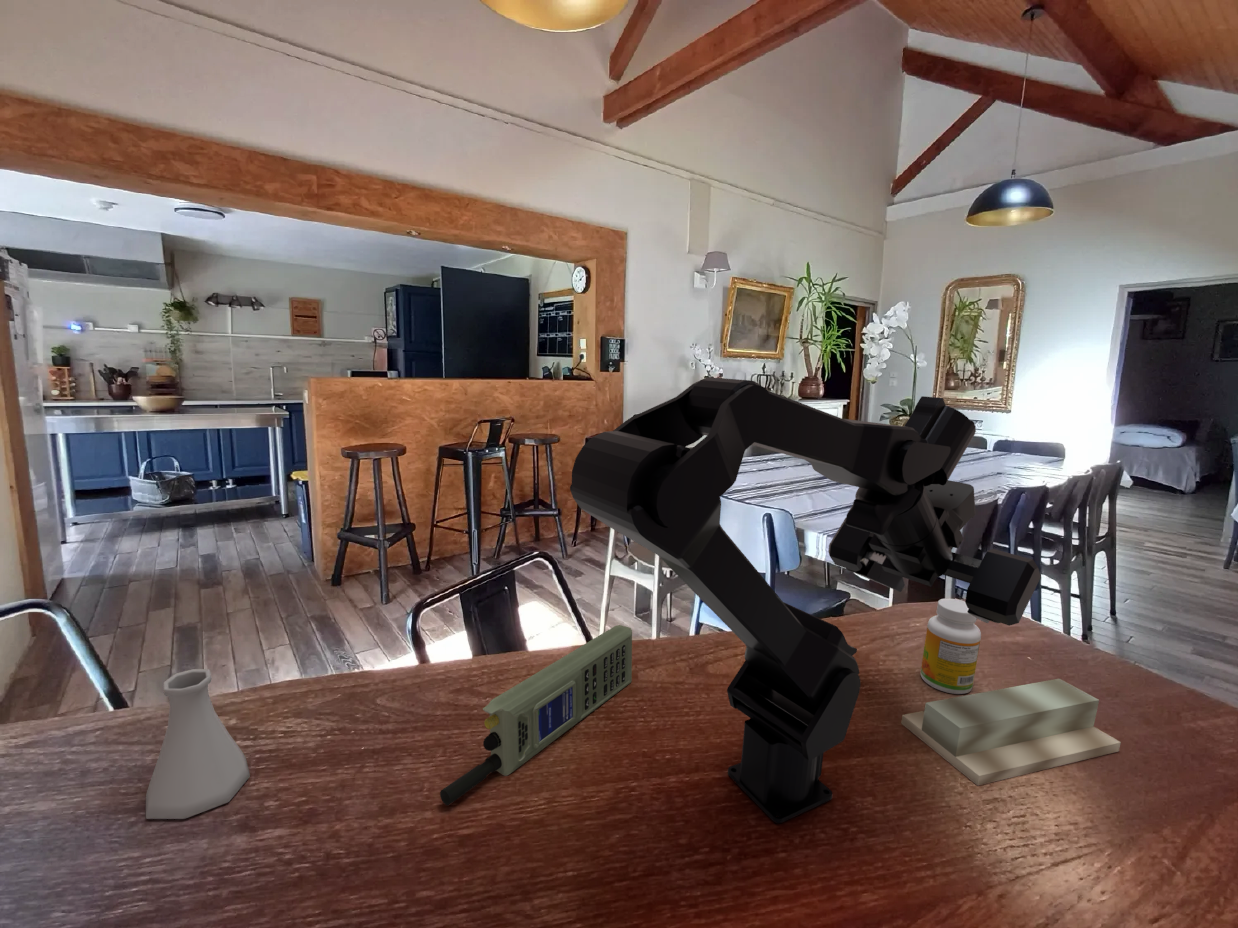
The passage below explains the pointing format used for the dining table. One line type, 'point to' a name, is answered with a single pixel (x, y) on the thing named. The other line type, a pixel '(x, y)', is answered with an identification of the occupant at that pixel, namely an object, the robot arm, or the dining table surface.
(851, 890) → the dining table surface
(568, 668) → the handheld radio
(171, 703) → the flask
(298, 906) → the dining table surface
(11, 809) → the dining table surface
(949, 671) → the supplement bottle
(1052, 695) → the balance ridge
